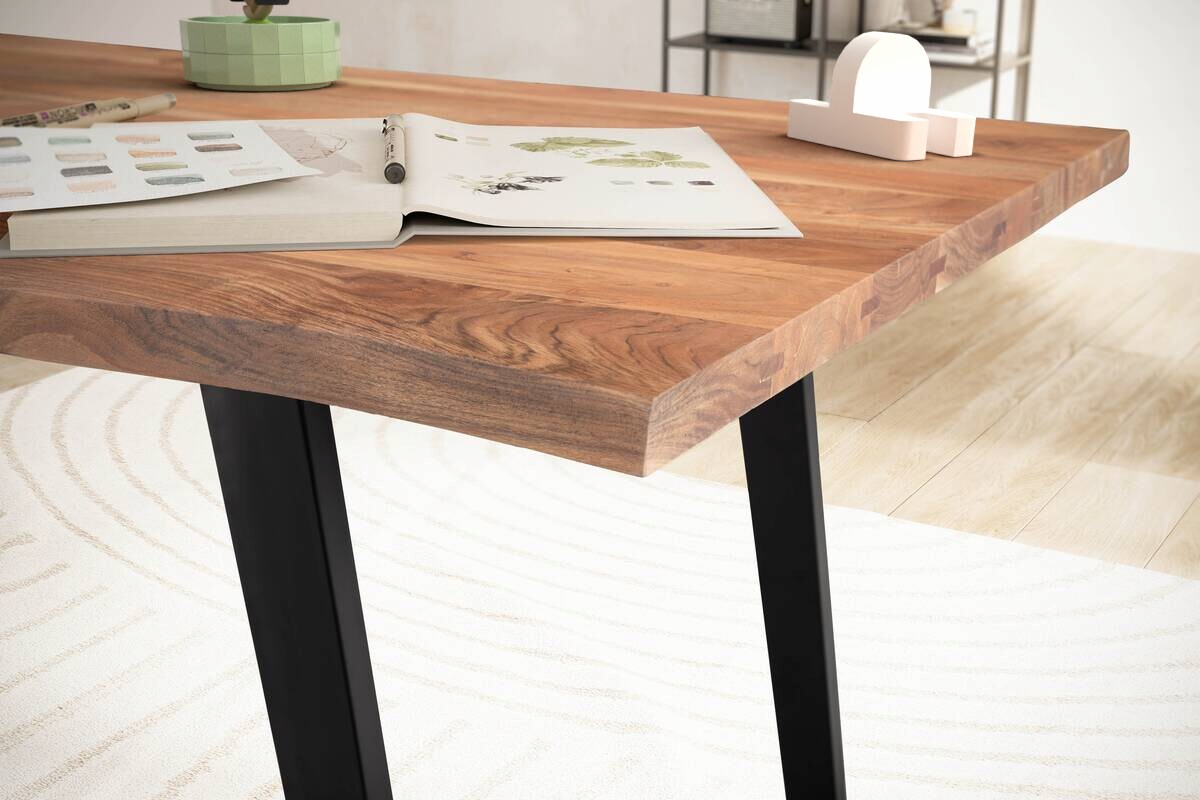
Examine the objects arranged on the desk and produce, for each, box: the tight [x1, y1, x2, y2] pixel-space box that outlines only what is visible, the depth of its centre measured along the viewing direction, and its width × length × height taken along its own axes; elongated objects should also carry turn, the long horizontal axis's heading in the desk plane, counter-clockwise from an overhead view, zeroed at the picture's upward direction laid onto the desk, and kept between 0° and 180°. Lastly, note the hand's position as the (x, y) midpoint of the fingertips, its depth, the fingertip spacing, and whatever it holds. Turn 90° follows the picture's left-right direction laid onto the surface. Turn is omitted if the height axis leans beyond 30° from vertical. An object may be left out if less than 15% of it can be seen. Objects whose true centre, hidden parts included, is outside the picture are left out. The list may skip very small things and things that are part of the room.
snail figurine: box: [242, 0, 274, 23], centre depth 121 cm, size 5×6×12 cm
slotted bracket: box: [787, 30, 977, 161], centre depth 91 cm, size 13×7×8 cm, turn 29°
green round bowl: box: [178, 14, 343, 92], centre depth 122 cm, size 15×15×6 cm
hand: (258, 1), depth 120 cm, fingers closed on snail figurine, 6 cm apart
